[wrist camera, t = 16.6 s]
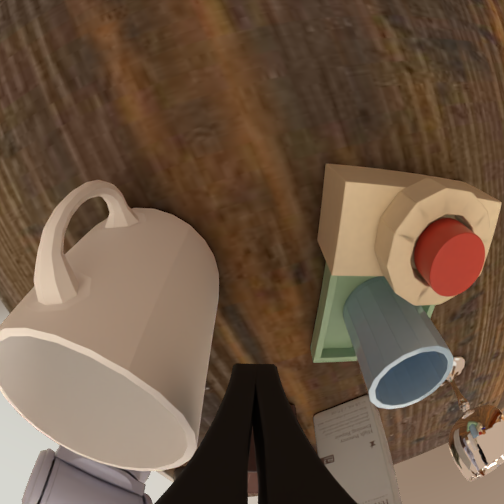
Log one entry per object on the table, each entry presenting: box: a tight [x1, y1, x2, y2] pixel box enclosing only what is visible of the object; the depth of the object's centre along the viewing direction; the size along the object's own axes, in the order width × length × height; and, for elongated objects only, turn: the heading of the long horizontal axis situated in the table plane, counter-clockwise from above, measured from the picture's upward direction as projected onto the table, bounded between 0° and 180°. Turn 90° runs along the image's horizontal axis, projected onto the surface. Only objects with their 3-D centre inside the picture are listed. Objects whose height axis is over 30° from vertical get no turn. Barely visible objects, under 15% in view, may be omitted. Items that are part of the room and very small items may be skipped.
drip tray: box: [310, 263, 435, 363], centre depth 21 cm, size 8×8×2 cm
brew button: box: [414, 218, 485, 297], centre depth 12 cm, size 3×3×2 cm
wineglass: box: [439, 356, 504, 481], centre depth 20 cm, size 6×6×12 cm
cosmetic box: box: [313, 395, 402, 504], centre depth 22 cm, size 6×4×12 cm
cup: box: [343, 276, 454, 409], centre depth 18 cm, size 5×5×7 cm
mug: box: [0, 180, 219, 471], centre depth 14 cm, size 10×12×12 cm
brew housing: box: [317, 163, 502, 306], centre depth 15 cm, size 6×10×6 cm, turn 88°
